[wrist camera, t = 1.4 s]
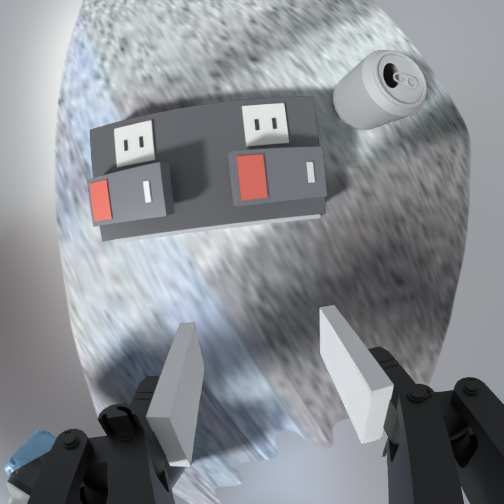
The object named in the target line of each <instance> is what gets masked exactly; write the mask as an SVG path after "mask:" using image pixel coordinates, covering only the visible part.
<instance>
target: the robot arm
mask: <svg viewBox="0 0 504 504" xmlns="http://www.w3.org/2000/svg"><path fill="white" fill-rule="evenodd" d="M320 354H321V356H322V359H323V361H324V363H325V365H326V367H327V369H328V371H329V374H330V376H331V378H332V380H333V382H334V384H335V386H336V389H337V391H338V393H339V395H340V397H341V399H342V401H343V404H344V406H345V408H346V410H347V412H348V415H349V417H350V419H351V421H352V423H353V425H354V428H355V430H356V432H357V434H358V436H359V439H360V441H361V443H362V444H364V443H368V442H371V441H374V440H378V439H381V436H382V433H383V429H384V430H385V432H386V434H387V436H388V439H387V442H386V445H385V448H384V451H383V456H385V455H386V453H387V465H388V488H389V504H464V501H463V495H462V490H461V487H462V489H463V491H464V493H465V495H466V497H467V499H468V500H469V502H470V504H504V404H503V403H502V402H501V401H500V400H499V399H498V398H497V397H496V396H495V394H493V392H492V391H491V390H490V389H489V388H488V387H487V386H486V385H485V383H483V382H482V381H481V380H479V379H477V378H471V377H467V378H463V379H461V380H459V381H458V382H457V383H456V385H455V387H454V390H451V391H444V392H434V391H433V390H432V389H431V388H430V387H428V386H426V385H423V384H416V383H415V382H414V381H413V380H412V379H411V377H410V376H409V375H408V374H407V373H406V371H405V370H404V369H403V368H402V366H401V365H399V363H398V362H397V360H395V358H394V357H393V356H392V355H391V353H390V352H389V351H387V350H385V349H383V348H382V347H375V348H371V349H367V348H366V346H365V345H364V344H363V342H362V341H361V340H360V338H359V337H358V336H357V334H356V333H355V332H354V330H353V329H352V328H351V326H350V325H349V324H348V322H347V321H346V320H345V318H344V317H343V316H342V315H341V313H340V312H339V311H338V309H337V308H336V307H335V305H331V306H325V307H320ZM204 370H205V366H204V362H203V358H202V353H201V349H200V344H199V340H198V335H197V330H196V326H195V322H194V323H181V324H180V325H179V327H178V330H177V332H176V335H175V338H174V340H173V343H172V346H171V348H170V351H169V354H168V356H167V359H166V362H165V364H164V367H163V370H162V373H161V375H160V376H147V377H146V378H145V379H144V380H143V381H142V382H141V383H140V384H139V386H138V388H137V391H136V393H135V395H134V398H133V400H132V402H131V405H126V404H115V405H111V406H109V407H107V408H105V409H104V410H103V411H102V412H101V413H100V414H99V417H98V421H99V423H100V424H101V426H102V428H103V430H104V431H105V433H106V435H107V436H102V437H94V438H88V437H87V435H86V434H85V433H84V432H83V431H81V430H78V429H70V430H66V431H64V432H62V433H61V434H60V435H59V436H58V437H55V436H54V435H52V434H51V433H50V432H48V431H46V430H38V431H36V432H35V433H34V434H32V435H31V436H30V437H29V438H28V439H27V440H26V441H25V442H24V443H23V444H22V446H21V447H20V448H19V449H18V450H17V451H16V452H15V454H14V455H13V457H11V459H10V460H9V461H8V462H7V464H6V465H5V467H4V469H5V471H6V473H7V474H8V475H10V478H9V480H8V482H7V483H6V484H7V487H8V490H9V492H10V500H9V502H8V504H175V502H174V498H173V494H172V488H173V487H174V485H175V484H176V482H177V480H178V479H179V477H180V476H181V474H182V473H183V471H184V469H185V467H191V461H192V453H193V446H194V438H195V431H196V424H197V417H198V410H199V403H200V396H201V389H202V383H203V376H204ZM383 456H382V457H383Z"/></svg>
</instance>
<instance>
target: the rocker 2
mask: <svg viewBox="0 0 504 504" xmlns="http://www.w3.org/2000/svg"><path fill="white" fill-rule="evenodd" d="M228 162H229V170H230V179H231V188H232V197H233V205H234V206H237V207H239V206H247V205H254V204H263V203H271V202H279V201H288V200H297V199H307V198H316V197H327V190H326V179H325V168H324V159H323V150H322V147H289V148H270V149H255V150H242V151H232V152H230V153H229V154H228Z"/></svg>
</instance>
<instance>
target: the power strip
mask: <svg viewBox="0 0 504 504" xmlns="http://www.w3.org/2000/svg"><path fill="white" fill-rule="evenodd" d="M90 145H91V159H92V171H93V178H96V177H99V176H103V175H107V174H111V173H115V172H119V171H123V170H127V169H131V168H135V167H139V166H144V165H148V164H153V163H158V162H166V163H169V168H170V177H171V185H172V193H173V201H174V209H175V213H174V214H171V215H168V216H163V217H155V218H148V219H141V220H133V221H127V222H120V223H113V224H107V225H100V230H101V236H102V241H108V240H114V243H119V242H126V241H133V240H140V239H147V238H154V237H162V236H169V235H177V234H184V233H192V232H200V231H208V230H216V229H224V228H233V227H241V226H250V225H259V224H267V223H277V222H286V221H295V220H305V219H315V218H320V214H326V209H325V197H316V198H307V199H297V200H288V201H279V202H271V203H263V204H254V205H247V206H239V207H237V206H234V205H233V197H232V188H231V179H230V170H229V162H228V154H229V153H230V152H232V151H242V150H255V149H270V148H289V147H320V146H319V138H318V130H317V122H316V115H315V108H314V101H313V96H298V97H274V98H259V99H247V100H236V101H227V102H219V103H211V104H204V105H197V106H191V107H185V108H179V109H174V110H168V111H163V112H158V113H153V114H149V115H144V116H140V117H136V118H131V119H127V120H123V121H119V122H116V123H112V124H108V125H105V126H101V127H98V128H94V129H91V130H90Z"/></svg>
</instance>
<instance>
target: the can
mask: <svg viewBox="0 0 504 504" xmlns="http://www.w3.org/2000/svg"><path fill="white" fill-rule="evenodd" d="M426 93H427V85H426V80H425V77H424V75H423V73H422V71H421V69H420V68H419V66H418V65H417V64H416V63H415V62H414V61H413V60H412V59H411V58H410V57H408V56H407V55H405V54H403V53H401V52H398V51H388V50H378V51H375V52H373V53H370V54H369V55H368V56H367V57H366V58H365V59H364V60H363V61H361V62H360V63H359V64H358V65H357V66H356V67H355V68H354V69H353V70H351V71H350V72H349V73H348V74H347V75H346V76H345V77H344V78H343V79H342V80H341V81H340V82H339V83H338V84H337V85H336V86H335V89H334V92H333V103H334V107H335V110H336V112H337V113H338V115H339V116H340V118H341V119H342V120H343V121H344V122H346V123H347V124H348V125H350V126H352V127H354V128H356V129H361V130H368V129H373V128H376V127H379V126H381V125H384V124H387V123H390V122H393V121H396V120H399V119H402V118H405V117H408V116H410V115H412V114H414V113H416V112H417V111H418V110H419V108H420V107H421V106H422V103H423V101H424V99H425V97H426Z"/></svg>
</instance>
